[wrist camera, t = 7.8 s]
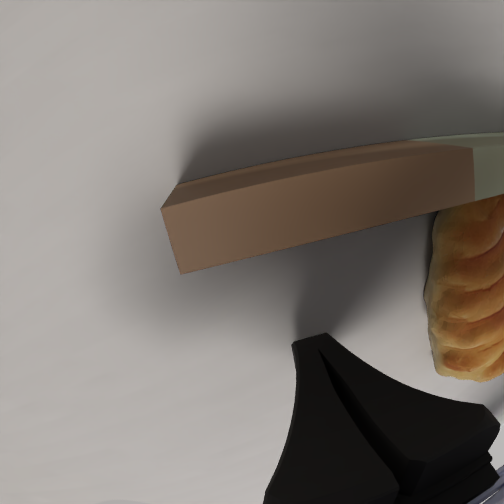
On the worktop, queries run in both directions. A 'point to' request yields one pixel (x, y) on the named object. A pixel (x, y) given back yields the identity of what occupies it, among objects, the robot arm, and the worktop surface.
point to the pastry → (467, 290)
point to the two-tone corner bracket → (327, 196)
